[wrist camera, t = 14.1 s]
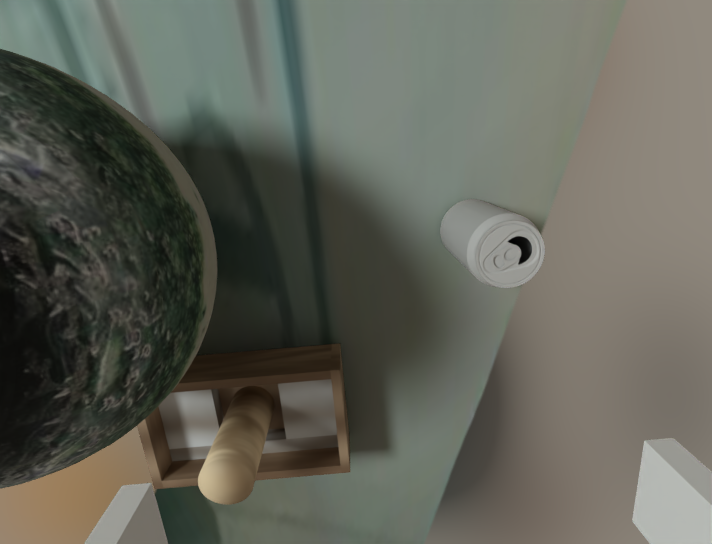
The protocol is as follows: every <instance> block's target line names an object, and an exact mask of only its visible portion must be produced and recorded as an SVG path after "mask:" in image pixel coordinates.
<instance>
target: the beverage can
mask: <svg viewBox="0 0 712 544" xmlns="http://www.w3.org/2000/svg"><path fill="white" fill-rule="evenodd" d="M440 234H441V239H442V242H443V244H444V246H445V247H446V248H447V250H448V251H449V252H450V253H451V254H452V255H453V256H455V257H456V258H457V259H458V260H459V261H460V262H461V263H462V264H463V265H464V266H465V267H466V268H467V269H468V270H469V271H470V272H471V273H472V274H473V275H474V276H475V277H476V278H477V279H478V280H479V281H481V282H482V283H484V284H486V285H489V286H493V287H501V288H511V287H516V286H519V285H522V284H524V283H526V282H527V281H529V280H530V279H531V278H532V277H533V276H534V275H535V274H536V273H537V272H538V270H539V269H540V267H541V265H542V263H543V260H544V254H545V246H544V241H543V238H542V236H541V234H540V232H539V230H538V229H537V227H536V226H535V225H534V223H533V222H531V221H530V220H529V219H527V218H526V217H524V216H521V215H519V214H516V213H513V212H511V211H508V210H506V209H503V208H500V207H498V206H495V205H492V204H490V203H487V202H485V201H482V200H478V199H467V200H463V201H461V202H458V203H457V204H455V205H454V206H452V207H451V208H450V209H449V210H448V211H447V213H446V214H445V216H444V218H443V220H442V223H441V229H440Z"/></svg>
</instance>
